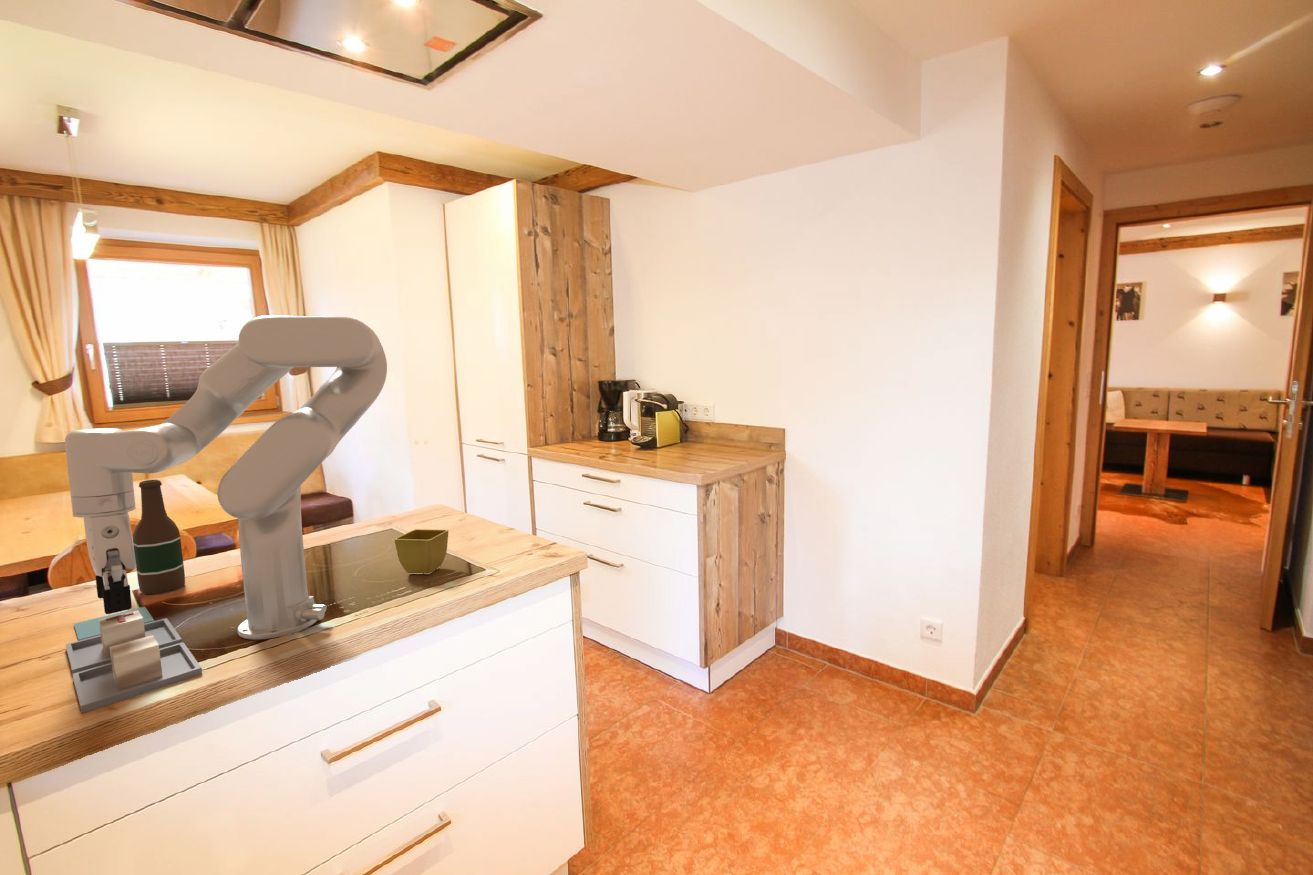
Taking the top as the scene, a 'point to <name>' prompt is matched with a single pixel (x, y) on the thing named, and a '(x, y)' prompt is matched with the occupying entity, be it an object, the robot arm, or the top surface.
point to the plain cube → (135, 661)
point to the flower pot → (422, 550)
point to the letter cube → (121, 630)
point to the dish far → (93, 655)
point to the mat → (93, 627)
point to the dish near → (102, 689)
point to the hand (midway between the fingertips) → (114, 603)
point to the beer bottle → (157, 544)
